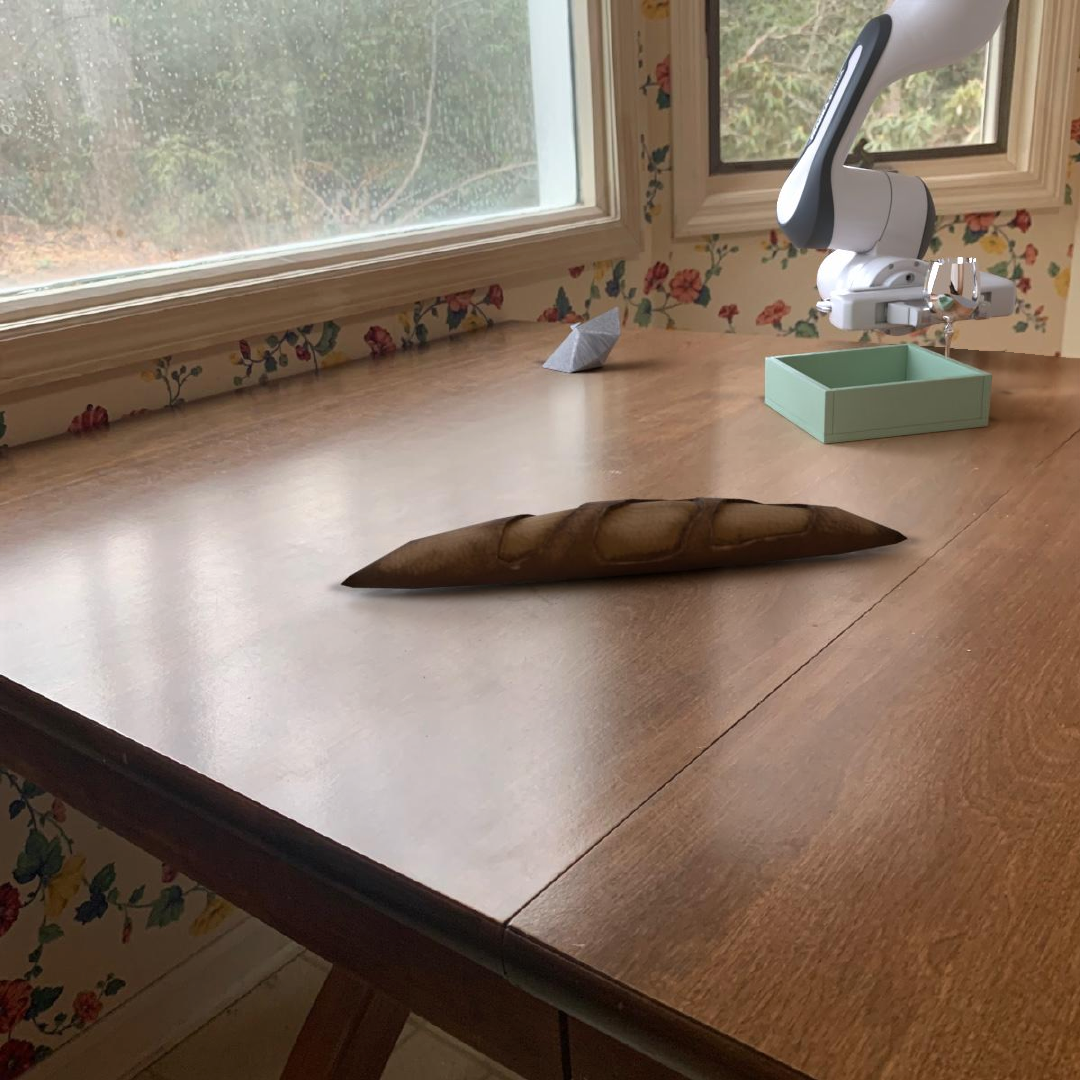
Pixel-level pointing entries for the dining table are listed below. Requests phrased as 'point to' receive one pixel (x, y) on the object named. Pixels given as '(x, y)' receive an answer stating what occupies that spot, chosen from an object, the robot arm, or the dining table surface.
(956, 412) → the bin
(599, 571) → the bread
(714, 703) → the dining table surface
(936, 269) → the wineglass
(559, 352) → the paper boat
